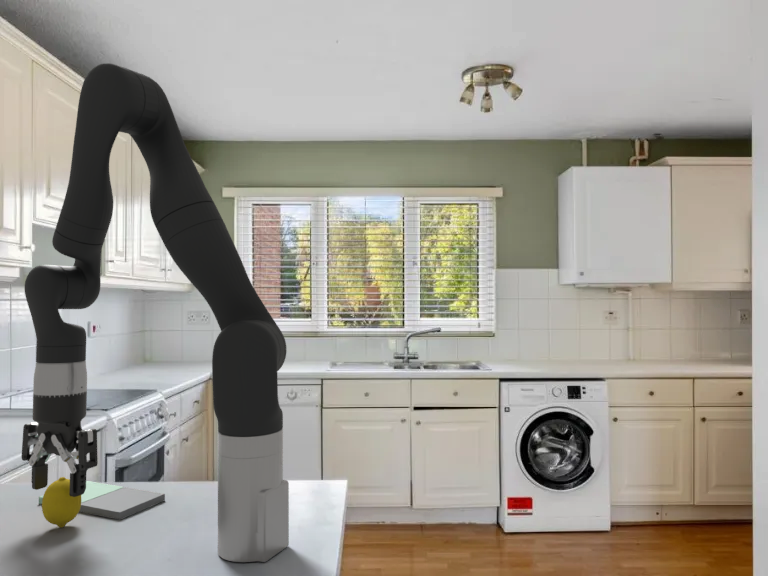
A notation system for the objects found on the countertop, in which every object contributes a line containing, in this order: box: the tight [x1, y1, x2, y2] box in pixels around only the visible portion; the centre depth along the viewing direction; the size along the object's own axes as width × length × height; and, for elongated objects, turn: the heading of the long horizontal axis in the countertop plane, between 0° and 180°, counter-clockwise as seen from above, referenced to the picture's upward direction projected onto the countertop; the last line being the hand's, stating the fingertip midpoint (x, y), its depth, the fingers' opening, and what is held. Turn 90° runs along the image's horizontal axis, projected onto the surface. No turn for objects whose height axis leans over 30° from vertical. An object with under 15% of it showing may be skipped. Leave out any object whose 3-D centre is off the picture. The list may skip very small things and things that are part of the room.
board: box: [38, 480, 166, 520], centre depth 104 cm, size 20×10×1 cm, turn 66°
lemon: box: [41, 476, 81, 529], centre depth 92 cm, size 6×6×8 cm
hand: (58, 491), depth 92 cm, fingers open, 8 cm apart
